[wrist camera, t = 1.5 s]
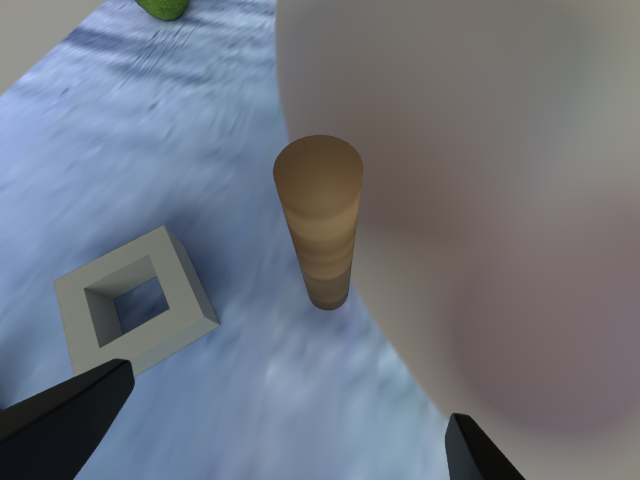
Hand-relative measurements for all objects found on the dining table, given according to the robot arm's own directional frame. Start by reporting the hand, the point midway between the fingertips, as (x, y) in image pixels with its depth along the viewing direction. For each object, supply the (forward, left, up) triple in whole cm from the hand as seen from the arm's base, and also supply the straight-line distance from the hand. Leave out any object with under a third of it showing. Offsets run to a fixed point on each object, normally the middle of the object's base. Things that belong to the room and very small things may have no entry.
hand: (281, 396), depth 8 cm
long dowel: (+5, -4, -13) cm, 14 cm away
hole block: (+11, +8, -13) cm, 19 cm away
